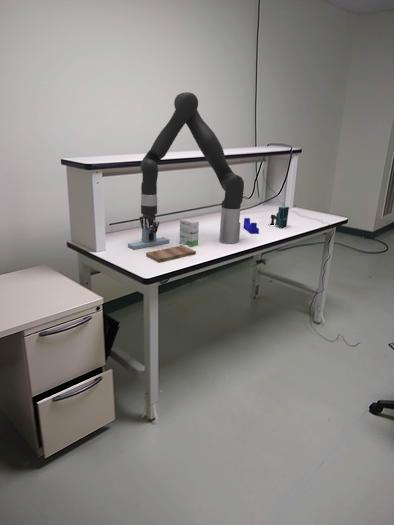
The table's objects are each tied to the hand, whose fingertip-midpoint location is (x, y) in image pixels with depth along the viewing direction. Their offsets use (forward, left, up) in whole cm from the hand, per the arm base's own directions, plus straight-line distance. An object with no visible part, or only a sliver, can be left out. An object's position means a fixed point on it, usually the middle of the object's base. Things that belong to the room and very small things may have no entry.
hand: (149, 239), depth 190 cm
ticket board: (0, +18, -3) cm, 18 cm away
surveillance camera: (-83, +9, -3) cm, 84 cm away
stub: (0, 0, -3) cm, 3 cm away
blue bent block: (-62, +8, -3) cm, 62 cm away
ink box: (-17, +9, -3) cm, 19 cm away
